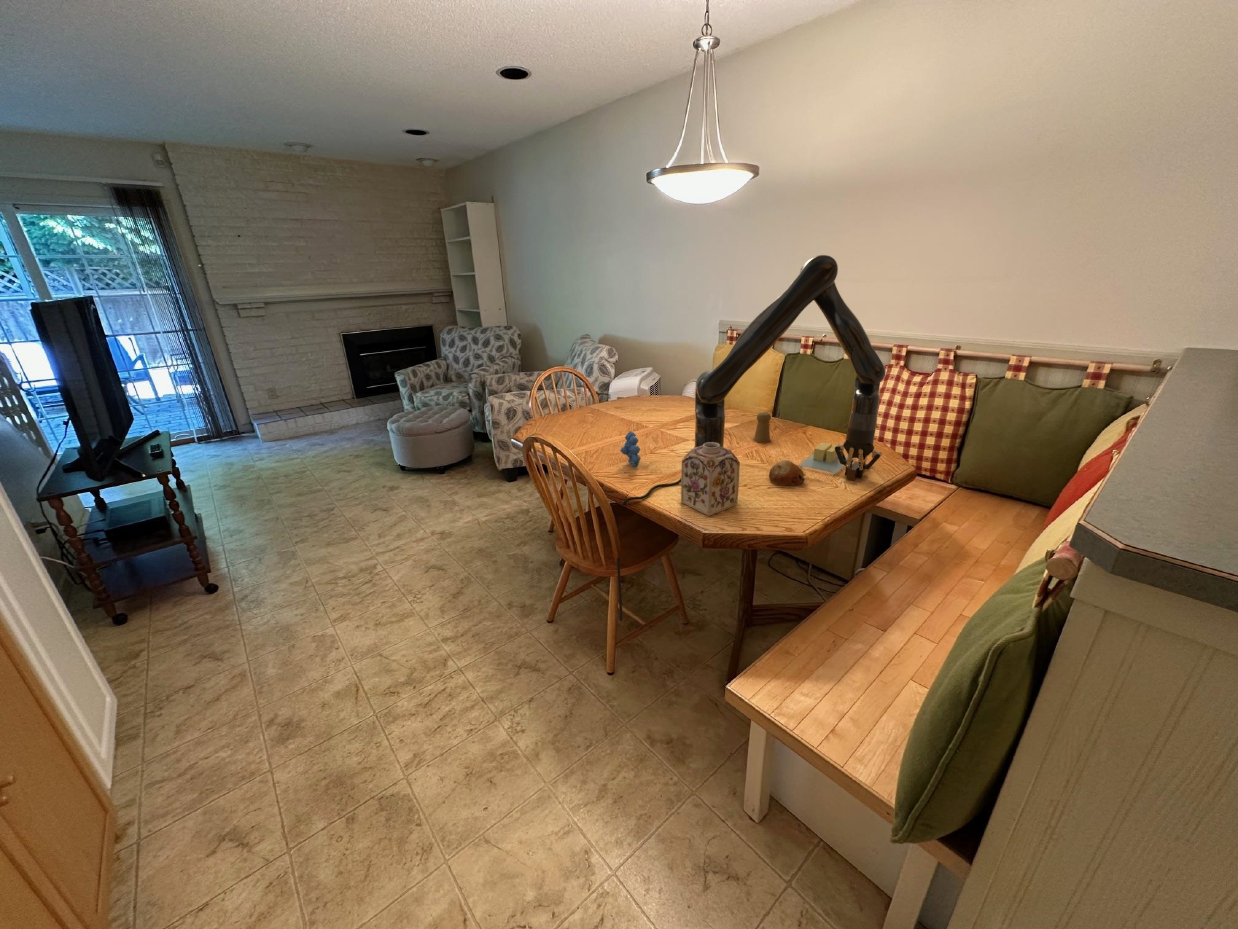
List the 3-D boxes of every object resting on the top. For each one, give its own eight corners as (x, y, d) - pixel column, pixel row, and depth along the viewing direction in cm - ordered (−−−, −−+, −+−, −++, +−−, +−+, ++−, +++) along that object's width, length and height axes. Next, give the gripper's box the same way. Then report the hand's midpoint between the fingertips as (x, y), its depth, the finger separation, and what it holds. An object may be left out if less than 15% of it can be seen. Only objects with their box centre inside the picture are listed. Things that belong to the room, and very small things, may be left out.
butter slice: (831, 463, 160) (832, 451, 158) (825, 462, 161) (827, 450, 159) (838, 456, 165) (840, 445, 164) (833, 455, 166) (834, 444, 165)
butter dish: (835, 476, 152) (836, 473, 151) (798, 468, 159) (798, 465, 159) (852, 459, 164) (853, 457, 164) (817, 452, 172) (817, 450, 171)
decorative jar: (738, 505, 135) (742, 445, 128) (709, 517, 129) (711, 455, 122) (708, 491, 144) (710, 434, 137) (679, 502, 138) (680, 443, 131)
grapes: (616, 461, 171) (615, 428, 166) (634, 458, 172) (634, 426, 168) (625, 472, 160) (624, 438, 156) (644, 470, 161) (643, 436, 157)
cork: (753, 442, 185) (755, 414, 181) (754, 437, 190) (756, 410, 186) (769, 443, 183) (772, 415, 179) (770, 438, 188) (772, 411, 184)
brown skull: (783, 483, 157) (775, 460, 156) (812, 478, 149) (804, 453, 149) (768, 492, 150) (760, 468, 150) (797, 487, 143) (789, 462, 142)
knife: (853, 484, 146) (855, 470, 144) (845, 482, 147) (847, 468, 146) (868, 467, 158) (870, 454, 156) (861, 465, 159) (863, 453, 158)
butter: (822, 461, 161) (823, 450, 160) (812, 459, 163) (814, 448, 162) (830, 454, 167) (831, 443, 165) (821, 452, 169) (822, 442, 167)
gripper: (833, 425, 145) (826, 477, 151) (884, 433, 136) (874, 488, 143) (841, 419, 150) (834, 470, 156) (890, 426, 141) (880, 480, 148)
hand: (853, 478), depth 149 cm, fingers closed on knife, 2 cm apart
